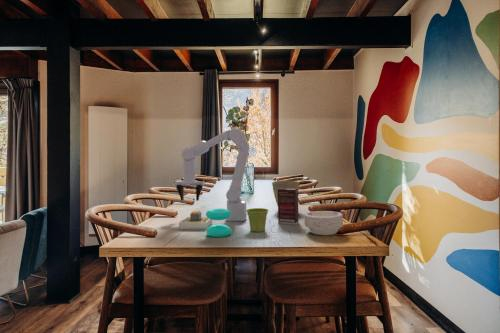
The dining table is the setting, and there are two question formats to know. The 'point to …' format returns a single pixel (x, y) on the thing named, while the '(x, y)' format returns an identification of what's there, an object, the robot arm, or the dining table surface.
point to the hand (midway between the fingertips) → (189, 200)
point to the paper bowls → (323, 222)
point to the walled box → (195, 224)
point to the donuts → (218, 229)
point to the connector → (195, 216)
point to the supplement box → (288, 206)
